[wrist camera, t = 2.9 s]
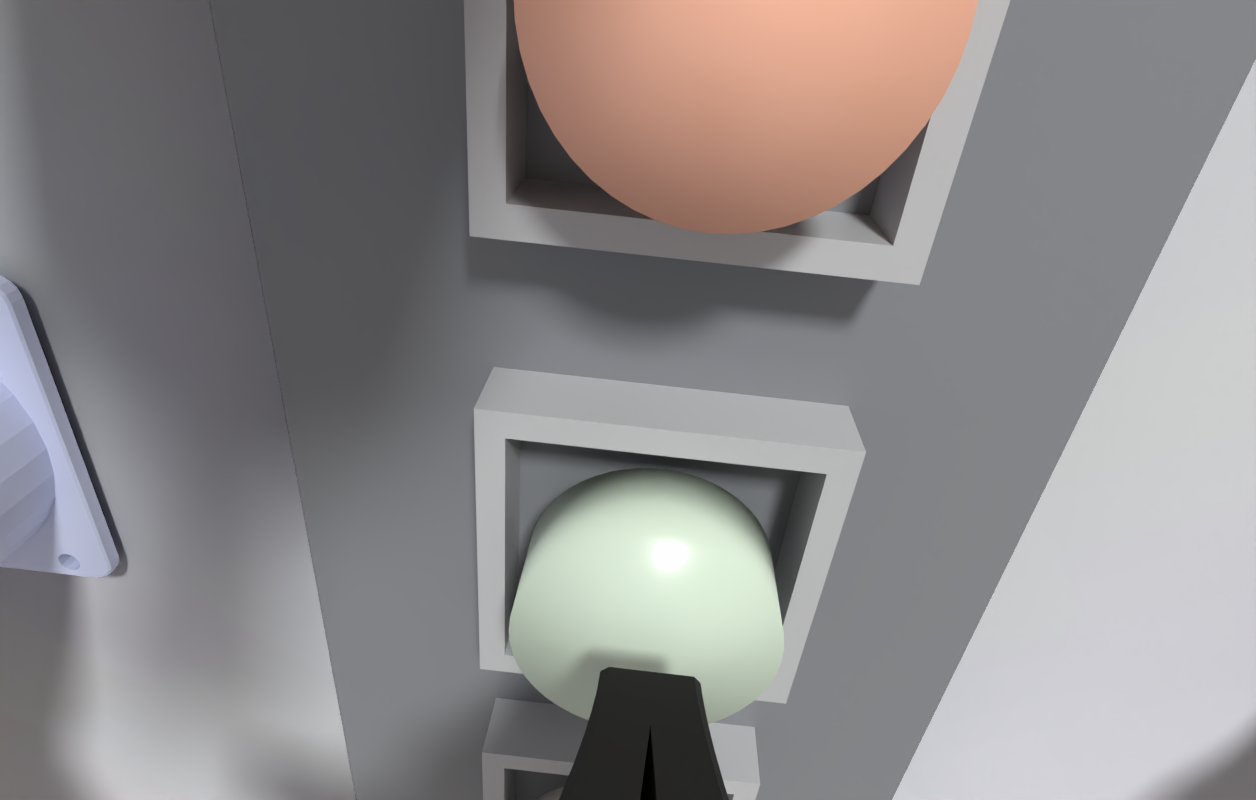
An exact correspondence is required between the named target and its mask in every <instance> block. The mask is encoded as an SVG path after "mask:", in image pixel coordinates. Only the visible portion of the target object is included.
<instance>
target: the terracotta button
mask: <svg viewBox="0 0 1256 800" xmlns="http://www.w3.org/2000/svg"><path fill="white" fill-rule="evenodd" d="M977 3H978V0H514V17H515V25H516V31H517V37H518V43H519V49H520V54H521V57H522V61H523V64H524V68H525V71H526V75H527V78H528V82H529V84H530V87H531V89H532V91H533V94H534V96H535V99H536V101H537V104H538V106H539V108H540V111H541V112H542V114H543V116H544V118H545V120H546V121H547V123H548V125H549V127H550V128H551V130H552V132H553V134H554V136H555V137H556V138H557V140H558V141H559V142H560V144H561V145H562V146H563V148H564V149H565V151H566V152H567V153H568V155H569V156H570V157H571V159H572V160H573V161H574V162H575V163H576V164H577V165H578V166H579V167H580V168H581V169H582V170H583V171H584V173H585V174H586V175H587V176H588V177H589V178H590V179H591V180H592V181H594V182H595V183H596V184H597V185H599V186H600V187H601V188H602V189H603V190H605V191H606V192H607V193H608V194H609V195H611V196H612V197H614V198H615V199H617V200H618V201H620V202H622V203H623V204H625V205H626V206H628V207H630V208H631V209H633V210H635V211H637V212H639V213H641V214H643V215H645V216H648V217H650V218H652V219H654V220H656V221H659V222H662V223H666V224H669V225H672V226H675V227H678V228H682V229H687V230H693V231H699V232H704V233H719V234H741V233H753V232H761V231H766V230H771V229H776V228H780V227H785V226H788V225H791V224H794V223H797V222H800V221H803V220H806V219H809V218H812V217H814V216H816V215H818V214H820V213H822V212H824V211H826V210H828V209H830V208H832V207H834V206H837V205H838V204H840V203H841V202H843V201H844V200H846V199H848V198H849V197H851V196H852V195H854V194H856V193H857V192H859V191H860V190H862V189H863V188H864V187H865V186H867V185H868V184H869V183H870V182H872V181H873V180H874V179H875V178H877V177H878V176H879V175H880V174H882V173H883V172H884V171H885V170H886V169H887V168H888V167H889V166H890V165H891V164H892V163H893V162H894V161H895V160H896V159H897V158H898V157H899V156H900V155H901V154H902V153H903V152H904V151H905V150H906V149H907V148H908V146H909V145H910V144H911V143H912V141H913V140H914V139H915V138H916V136H917V135H918V134H919V133H920V131H921V130H922V129H923V128H924V126H925V125H926V124H927V122H928V120H929V119H930V117H931V116H932V114H933V113H934V111H935V109H936V108H937V106H938V105H939V103H940V101H941V100H942V98H943V97H944V95H945V93H946V91H947V89H948V86H949V84H950V82H951V80H952V78H953V76H954V74H955V72H956V70H957V68H958V66H959V63H960V60H961V58H962V55H963V52H964V49H965V47H966V44H967V41H968V38H969V35H970V32H971V28H972V24H973V20H974V15H975V11H976V7H977Z"/></svg>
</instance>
